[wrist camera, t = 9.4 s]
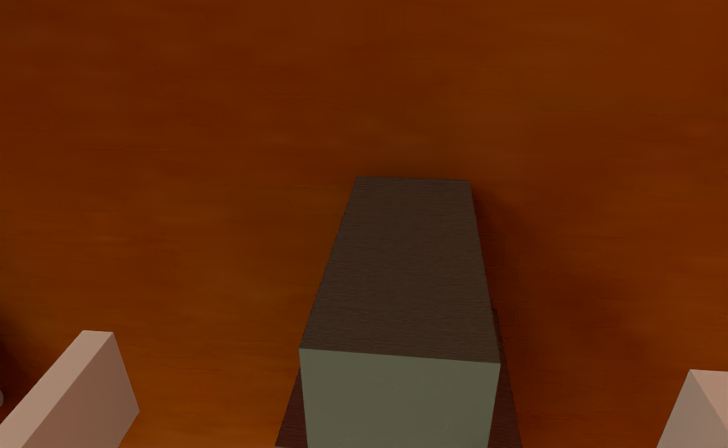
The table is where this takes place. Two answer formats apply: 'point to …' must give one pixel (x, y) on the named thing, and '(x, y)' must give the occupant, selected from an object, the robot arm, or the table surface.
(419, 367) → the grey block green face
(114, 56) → the table surface
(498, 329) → the square hollow collar
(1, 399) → the ceramic mug
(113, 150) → the table surface
